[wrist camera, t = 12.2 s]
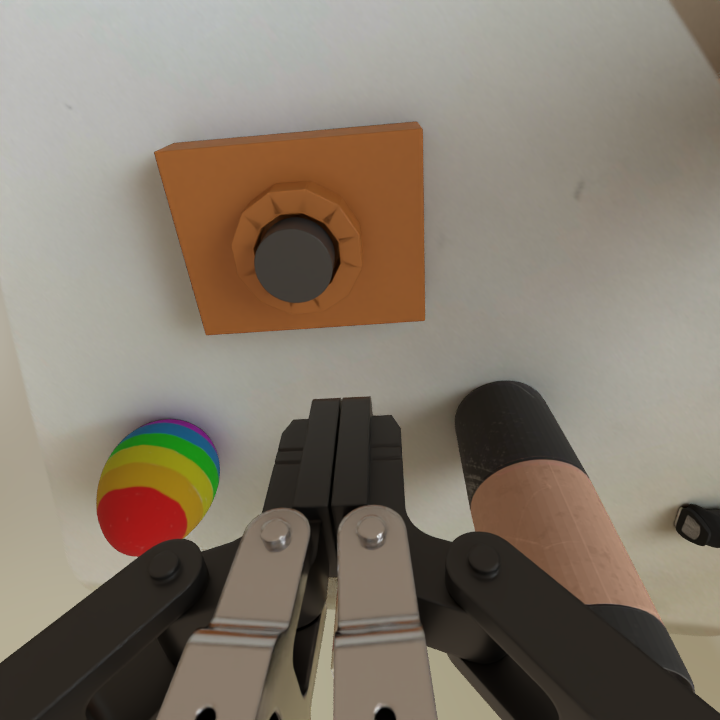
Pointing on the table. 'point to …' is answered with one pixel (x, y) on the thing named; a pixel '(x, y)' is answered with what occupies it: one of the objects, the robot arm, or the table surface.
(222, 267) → the orange button base
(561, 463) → the travel mug
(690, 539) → the electric trimmer
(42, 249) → the table surface
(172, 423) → the decorative egg
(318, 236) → the grey push button
